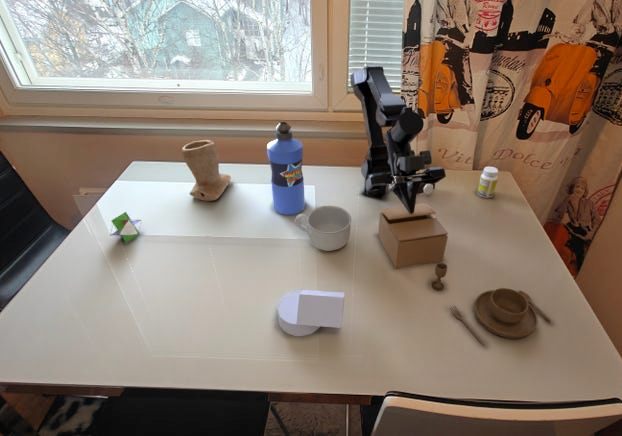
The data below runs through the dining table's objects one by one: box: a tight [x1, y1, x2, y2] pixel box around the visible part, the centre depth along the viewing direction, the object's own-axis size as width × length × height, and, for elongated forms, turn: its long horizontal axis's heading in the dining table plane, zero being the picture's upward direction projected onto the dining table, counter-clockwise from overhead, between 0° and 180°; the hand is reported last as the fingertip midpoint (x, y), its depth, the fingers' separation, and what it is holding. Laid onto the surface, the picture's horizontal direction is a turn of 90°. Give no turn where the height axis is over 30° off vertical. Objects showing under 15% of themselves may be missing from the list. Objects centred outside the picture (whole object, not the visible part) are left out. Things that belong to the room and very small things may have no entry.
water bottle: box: [266, 121, 306, 216], centre depth 105 cm, size 9×9×25 cm
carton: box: [377, 211, 449, 269], centre depth 94 cm, size 13×12×8 cm
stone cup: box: [181, 139, 232, 202], centre depth 115 cm, size 15×12×15 cm
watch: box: [417, 183, 436, 195], centre depth 118 cm, size 8×5×4 cm, turn 122°
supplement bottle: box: [476, 166, 499, 199], centre depth 116 cm, size 5×5×8 cm
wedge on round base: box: [276, 289, 346, 337], centre depth 76 cm, size 9×7×13 cm
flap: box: [379, 203, 437, 220], centre depth 94 cm, size 6×12×1 cm, turn 103°
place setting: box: [430, 262, 552, 346], centre depth 80 cm, size 18×20×6 cm
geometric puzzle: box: [109, 211, 142, 244], centre depth 98 cm, size 7×7×8 cm
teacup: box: [294, 205, 352, 252], centre depth 96 cm, size 14×11×8 cm
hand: (411, 213), depth 92 cm, fingers closed
